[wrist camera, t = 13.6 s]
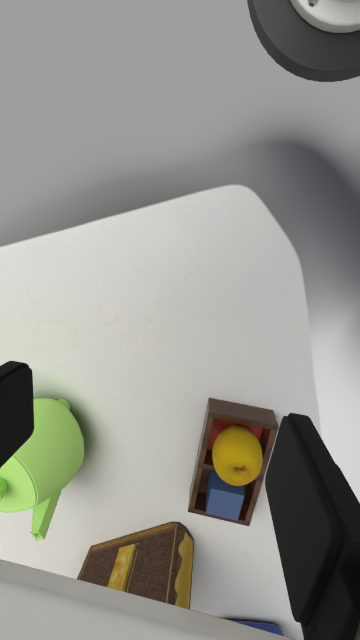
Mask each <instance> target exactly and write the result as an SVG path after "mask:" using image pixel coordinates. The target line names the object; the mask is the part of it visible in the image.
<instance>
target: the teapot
mask: <svg viewBox="0 0 360 640" xmlns="http://www.w3.org/2000/svg"><path fill="white" fill-rule="evenodd" d="M33 404H34V431H33V434H32V436H31V437H30V438H29V439H28V440H27V441H26V442H25V443H24V444H23V445H22V446H21V447H20V448H19V449H18V450H17V452H16V453H15V454H14V455H13V456H12V457H11V458H10V459H9V460H8V461H7V462H6V463H5V464H4V465H3V466H2V467H1V468H0V512H3V513H10V512H18V511H24V510H28V509H31V508H33V518H32V530H31V532H30V533H31V534H32V536H33V537H34V538H35V540H36V541H37V540H43V539H44V538H45V536H46V533H47V530H48V527H49V525H50V522H51V519H52V516H53V513H54V510H55V507H56V505H57V502H58V499H59V496H60V493H61V490H62V488H64V487H65V486H66V485H67V484H68V483H69V482H70V481H71V480H72V478H73V477H74V476H75V475H76V474H77V472H78V471H79V469H80V468H81V466H82V463H83V460H84V437H83V435H82V433H81V430H80V427H79V425H78V423H77V421H76V419H75V418H74V416H73V415H72V413H71V412H70V411H69V410H70V404H69V402H68V401H67V400H65V399H58V400H54V399H50V398H33Z"/></svg>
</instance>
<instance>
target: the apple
mask: <svg viewBox="0 0 360 640" xmlns="http://www.w3.org/2000/svg"><path fill="white" fill-rule="evenodd" d="M212 458H213V464H214V468H215V470H216V472H217V474H218V475H219V477H220V478H221V479H222V480H223V481H225V482H226V483H228V484H231V485H234V486H242V485H245V484H248V483H250V482H251V481H253V480H254V479H255V478H256V477H257V476H258V475H259V473H260V471H261V468H262V463H263V457H262V449H261V445H260V443H259V441H258V439H257V438H256V436H255V435H254V434H253V433H252V432H251V431H250V430H249V429H247V428H246V427H244V426H240V425H234V424H233V425H230V426H229V427H227V428H226V429H224V430H223V431H222V432H221V433H220V434H219V435H218V437H217V438H216V440H215V443H214V446H213V450H212Z"/></svg>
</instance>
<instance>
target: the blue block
mask: <svg viewBox="0 0 360 640" xmlns="http://www.w3.org/2000/svg"><path fill="white" fill-rule="evenodd" d="M243 500H244V489H243V485H242V486H234V485H231V484H228V483H226V482H225V481H223V480H222V479H221V478H220V477H219V475H218V474H217V472H216V471H213V470H210V472H209V477H208V481H207V486H206V514H210V515H215V516H219V517H223V518H227V519H232V520H236V521H238V518H239V514H240V511H241V507H242V503H243Z"/></svg>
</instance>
